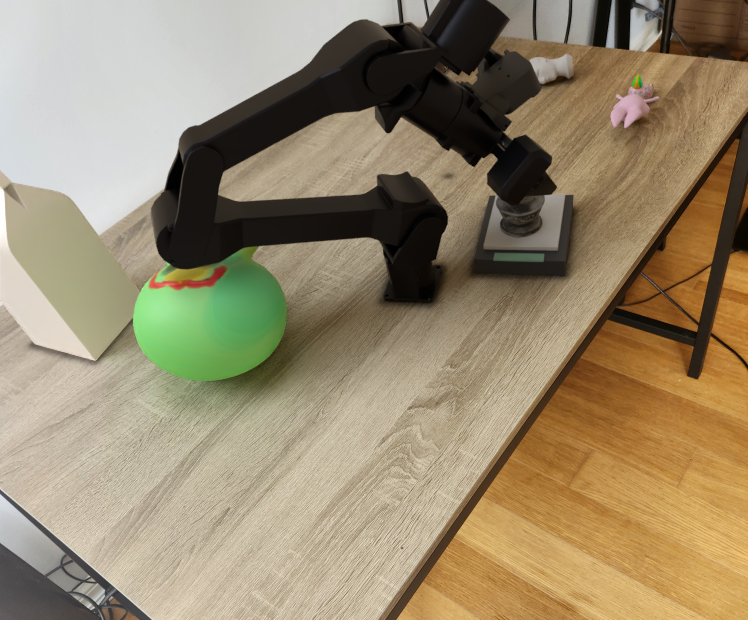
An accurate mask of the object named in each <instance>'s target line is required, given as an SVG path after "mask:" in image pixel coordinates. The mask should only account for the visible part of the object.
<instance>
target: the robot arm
mask: <svg viewBox="0 0 748 620" xmlns="http://www.w3.org/2000/svg"><path fill="white" fill-rule="evenodd" d="M510 21H511V19H510V18H509V17H508V15H506V13H504V12H503V11H502V10H501V9H500V8H498V6H496V5H495V4H493V3H492V2H491V1H489V0H438V2H437V4H436V5H435V7H434V8H433V10H432V12H430V14H429V16H428V18H427V20H426V21H425V22H424V24H423V26H422V29H421V30H420V29H419V28H420V27H418V26H417V25H415V24H414V23H413V22H412V21H408V22H407V21H406V22H399V23H391V24H384V25H381V24H380V23H378V22H376V21H373V20H370V19H367V18H363V19H362V18H361V19H358V20H355V21H352V22H350V23H349V24H347V26H345V27H343V29H341V30H340V31H339V32H338V33H336V34H335V35H333V37H331V38H330V39H329V40H328V41H326V42H325V43H324V44H323V45H322V46H321V47H320V49H318V51H317V53H316V54H315V55H314V56H313V57H312V59H311V61H309V63H307V64H305V65H304V67H302V68H301V69H299V70H298V71H296V72H294V73H292V74H290V75H289V76H287V77H285V78H284V79H281V80H280V81H277V82H275V83H274V84H273V85H271V86H269V87H266V88H265V89H263V90H262V91H259V92H258V93H256V94H254V95H252V96H250V97H248V98H246V99H244V100H243V101H241V102H239V103H237V104H235V105H234V106H232V107H230V108H228V109H226V110H224V111H222V112H220V113H219V114H217V115H216V116H214V117H212V118H210V119H208V120H206V121H204V122H203V123H200V124H198V125H197V124H195V125H192V126H189V127H187V128H186V129H185V130H183V132H182V133H181V135H180V136H179V138H178V144H177V145H178V146H177V150H176V155H175V156H174V159H173V161H172V163H171V166H170V167H169V170H168V173H167V177H166V181H165V186H164V189H163V191H162V192H161V193H160V195H159V196H158V197H157V198H156V199H155V200H154V201H153V203H152V204H151V207H150V220H151V226H152V231H153V236H154V241H155V247H156V250H157V253H158V255H159V257H161V259H162V260H163V261H164V262H165V261H166V262H167V263H169V264H170V265H172V267H174V268H177V269H186V270H188V269H194V268H198V267H202V266H207V265H211V264H215V263H219V262H222V261H223V260H225V259H226V258H228V257H230V256H231V255H233V254H235V253H236V252H238V251H239V250H241V249H243V248H247V247H258V246H259V247H268V246H281V245H292V244H293V245H295V244H304V243H305V244H306V243H317V242H330V241H341V240H342V241H343V240H354V239H355V240H356V239H373V240H376V241H378V242H379V244H380V246H381V247H382V254H383V260H384V262H385V267H386V271H387V275H388V281H387V283H386V287H385V290H384V293H383V296H382V297H383V300H384V301H386V302H401V303H402V302H403V303H404V302H407V303H425V304H426V303H427V304H431V303H433V302H434V301H435V298H436V294H437V290H438V287H439V283H440V279H441V276H442V274H443V265H441V264H433V263H434V261H436V260H437V259H438V258H437V257H438V253H439V249H440V246H441V242H442V236H443V234H444V233H445V231H446V229H447V227H448V225H449V215H448V213H447V210H446V208H444V206H443V205H442V203H441V202H440V200H439V199H437V197H436V196H435V195H434V193H433V192H432V191H431V189H430V188H429V187H428V186H427V184H426V183H425V182H424V181H423V180H422V179H421V178H420V177H417V176H412V175H411V173H410V172H409V171H408V170H407V171H404V172H402V173H398V174H387V173H379V174H377V175H376V186H374V187H372V188H371V189H369V190H368V191H366V192H364V193H360V194H345V195H344V194H343V195H329V196H326V195H325V196H310V197H293V198H277V199H260V200H244V201H243V200H242V201H240V200H235V199H231V198H228V197H225V196H223V195H220V194H219V190H220V186H221V181H222V178H223V174H224V173H225V172H226V171H228V170H229V169H231V168H233V167H235V166H236V165H239V164H241V163H242V162H244V161H247V160H248V159H250V158H252V157H253V156H256V155H258V154H259V153H261V152H263V151H265V150H267V149H268V148H271V147H272V146H274V145H276V144H278V143H280V142H281V141H283V140H285V139H287V138H288V137H290V136H292V135H295V134H296V133H298V132H300V131H302V130H304V129H305V128H307V127H309V126H311V125H313V124H315V123H316V122H318V121H321V120H322V119H324V118H327V117H329V116H333V115H335V114H345V113H347V114H349V113H359V112H362V111H365V110H367V109H371V108H374V119H375V121H376V122H377V124H378V125H379V126H380V127H381V128H382V130H383V131H384V132H385V133H386V134H391V133H392V132H393V131H394V129H395V127H396V126H397V125H398V123H399V121H400V120H401V119H402V120H404V121H406V122H407V123H409V124H411V125H412V126H413V127H416V128H417V129H419V130H420V131H422V132H424V133H425V134H427V135H428V136H430V137H432V138H433V139H434V140H435V141H436V142H437V144H438V145H439V146H440V147H441V148H442V149H444V150H445V151H447V152H450V150H452V151H454V152H455V153H457V154H458V155H460V156H461V157H462V159H463V160H464V161H465V162H466V163H467V164H468V165H470V166H471V167H473V168H476V166H477V165H478V164H479V162H480V161H481V160H482V159H486V158H487V157H488V156H489V155H493V156H494V157H495V158H496V159H497V160H496V161H495V162H494V163H493V165H492V166H491V167H490V169H489V170H488V172H487V173H486V185H487V186H488V187H489V188H490V189H491V190H492V191H493V193H494V194H495V195H496V194H497V196H498V197H499V198H500V199H501V200H503V201H504V202H506V203H508V204H509V205H511V206H516V205H519V203H520V202H521V201H522V200H523V198H524V197H529V196H541V195H551V194H554V193H555V191H556V190H557V189H558V186H557V184H556V183H555V182H554V180H553V179H552V178H551V176H550V175H549V174H548V173H547V171H548V169H549V168H550V167H551V166H552V163H553V156H552V155H551V154H550V153H549V152H548V151H547V150H546V149H544V148H543V146H541V145H540V144H539V143H538V142H537V141H535V140H534V139H533V138H531V137H530V136H529V135H527V134H522V135H519V136H516V137H514V138H513V139H512V138H511V137H510V136H509V135H508V134H506V131H507V130H508V128H509V127H510V125H511V124H512V123H513V120H511V119H510V118H509V117H508V116H507V115H511V114H512V113H514V112H515V111H516V110H518V109H519V108H520V107H522V106H523V105H524V104H525V103H526V102H528V101H529V100H530V99H534V98H535V97H536V96H538V95H539V94H540V92H541V91H542V84H540V82H539V80H538V78H537V76H536V73H535V71H534V69H533V66H532V64H531V62H530V61H529V59H527V58H526V57H524V56H523V55H522V54H520V53H519V52H518V51H517V50H516V51H515V50H512V51H510V50H508V49H507V48H506V49H505V50H503V54H502V53H500V52H499V51H497V50H495V49H494V48H492V47H493V45H494V44H495V43H496V41H497V40H498V38H499V36H500V35H501V34H502V32H503V31H504V29H505V28H506V27H507V25H508V24H509V22H510ZM438 61H439V62H440V63H442V64H443V65H444V67H445V68H447V69H448V70H449V71H451V72H452V73H454V74H455V75H457V77H459V76H460V75H461V74H462V72H463V73H464V74H465V75H467V76H468V77H470V76H471V75H472V73H474V72H475V71H476V70H477V73H476V74H475V76H476V80H475V81H474V82H473V84H472V83H471V82H469V81H463V80H461V81H460V82H459V81H458V80H456V81H455V80H454V79H452V78H451V77H450V76H448V74H446V73H445V72H441V71H440V70H438V69H437V68H436V67H435V66H436V64H437V63H438ZM259 247H258V248H259ZM166 262H165V263H166Z"/></svg>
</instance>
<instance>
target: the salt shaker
mask: <svg viewBox="0 0 748 620" xmlns="http://www.w3.org/2000/svg"><path fill="white" fill-rule="evenodd" d="M544 202H545V196H544V195H541V196H529V197H524V198H523V200H522V201H521V202H520V203H519V205H516V206H511V205H509V204H508V203H506V202H504V201H503V200H501V199H500V198H499V197H497V200H496V206H497V208H498V210H499V212H500V214H501V215H502V217H503V218H502V219H501V222H500V229H501V231H502V232H503V233H504V234H506V235H508V236H512V237H526V236H530V235H532V234H534V233H536V232H537V231H539V229H540V228H541V226H542V218H541V216H540V215H539V213H540V211H541V209H542V206H543V205H544Z"/></svg>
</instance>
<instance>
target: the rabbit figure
mask: <svg viewBox="0 0 748 620" xmlns="http://www.w3.org/2000/svg"><path fill="white" fill-rule="evenodd" d="M654 92H655V85H654V81H652V82H651V83H650V84H649V85H648V84H644V83H643V81H642V75H641V73H637V74H636V76H635V77H634V79H633V81H632V83H631V86H630V87H629V88H628V90H627V95H625V96H622V95H620V94H618V93H617V94H615V98H616V99H618V100H619V101H618V102H617V103H616V104H615V105H614V106H613V108H612V110H611V112H610V121H611V125H612V127H613V128H614V129H615V128H617V127H618V125H619V124H620V123H621V122H624V125H623V126H624V127H623V128H624V129H628V128H629V127H630V126H631V125H632V124H633V123H634V122H636V121H638V120H640V119H642V118H643V117H645V116H646V115H648V114H649V113H650V111H651V108H650V106H649V105H648V104H649V103H650V104H651V103H652V102H653V103H654V102H656V101H659V100H660V96H654V97H653V94H654Z"/></svg>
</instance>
